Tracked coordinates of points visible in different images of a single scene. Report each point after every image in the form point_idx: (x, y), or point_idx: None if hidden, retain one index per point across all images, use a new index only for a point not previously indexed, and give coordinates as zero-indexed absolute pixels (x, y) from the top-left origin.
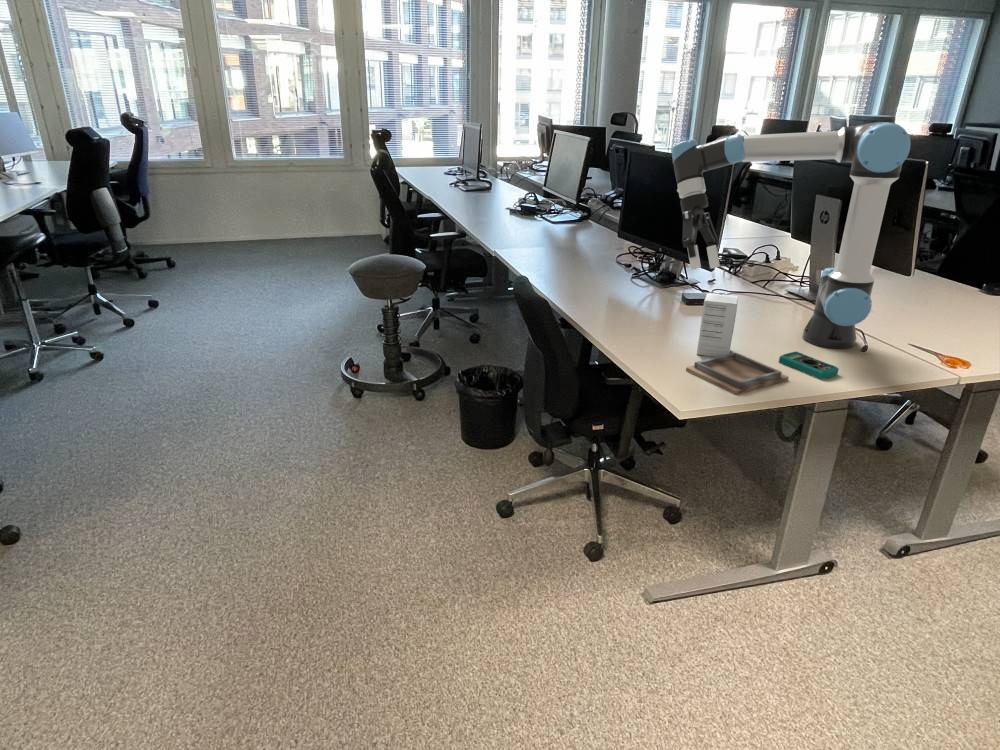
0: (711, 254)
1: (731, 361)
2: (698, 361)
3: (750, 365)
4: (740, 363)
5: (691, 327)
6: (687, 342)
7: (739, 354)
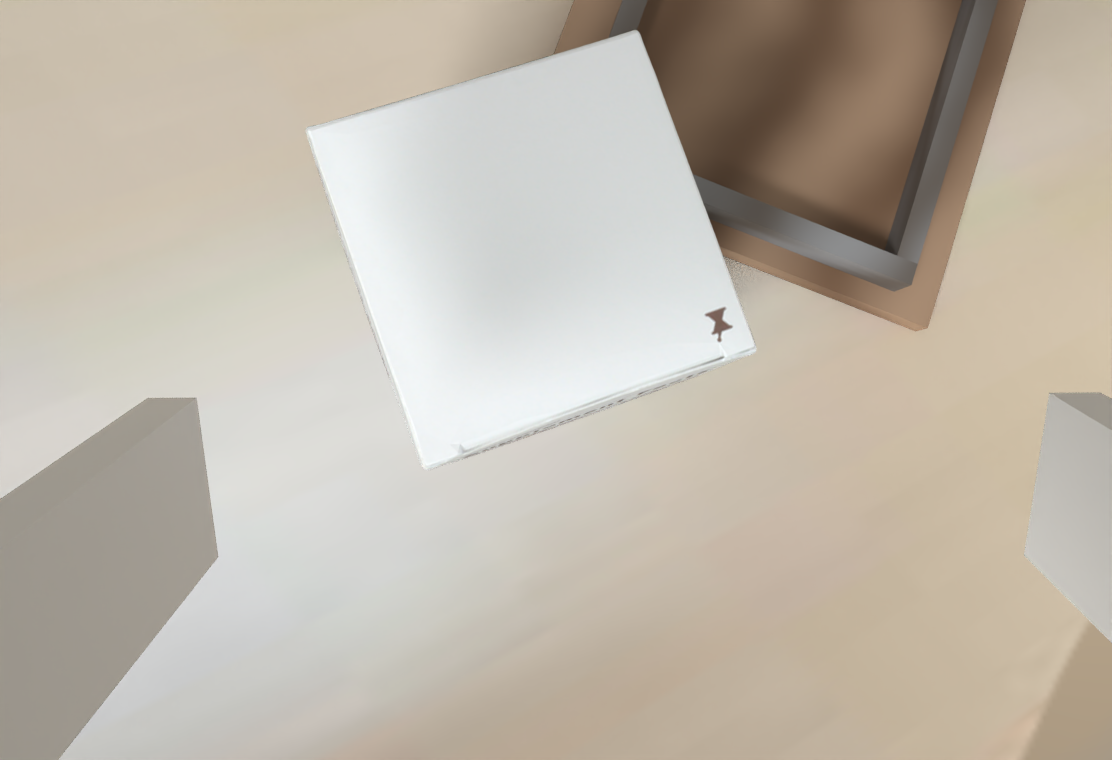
0: (76, 635)
1: None
2: (884, 273)
3: None
4: None
5: None
6: (444, 557)
7: None
